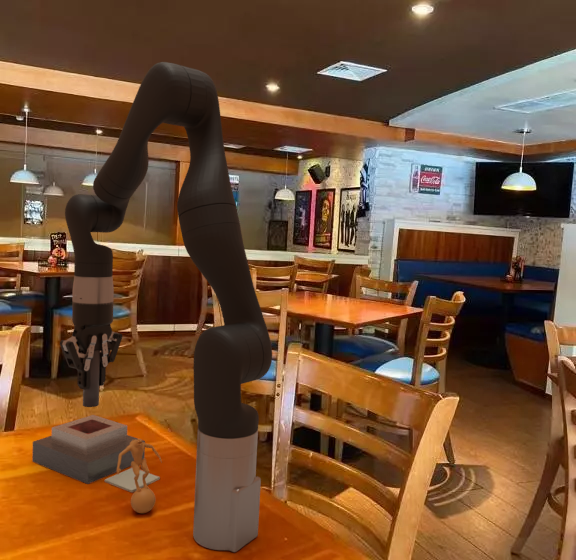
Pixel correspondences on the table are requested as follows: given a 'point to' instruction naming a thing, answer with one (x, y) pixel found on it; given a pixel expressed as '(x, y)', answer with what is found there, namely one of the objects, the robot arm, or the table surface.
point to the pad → (130, 480)
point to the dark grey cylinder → (93, 382)
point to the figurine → (142, 496)
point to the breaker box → (85, 448)
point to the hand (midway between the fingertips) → (91, 386)
